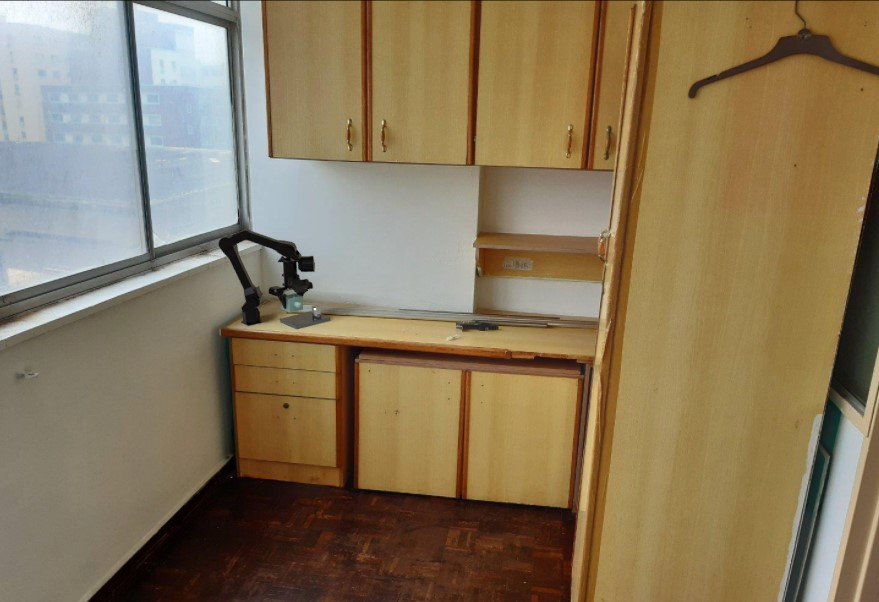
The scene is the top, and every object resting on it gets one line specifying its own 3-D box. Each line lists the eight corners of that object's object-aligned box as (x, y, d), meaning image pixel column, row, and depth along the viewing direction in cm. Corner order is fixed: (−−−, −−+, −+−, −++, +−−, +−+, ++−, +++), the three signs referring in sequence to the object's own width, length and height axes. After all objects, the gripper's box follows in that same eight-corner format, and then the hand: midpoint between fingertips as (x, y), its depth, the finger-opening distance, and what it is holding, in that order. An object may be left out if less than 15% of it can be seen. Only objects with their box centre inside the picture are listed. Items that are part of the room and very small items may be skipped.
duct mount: (296, 329, 270) (295, 314, 268) (279, 321, 278) (279, 307, 277) (329, 320, 281) (329, 306, 279) (313, 313, 290) (312, 300, 288)
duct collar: (294, 306, 282) (293, 293, 280) (307, 311, 275) (306, 297, 273) (281, 309, 277) (280, 295, 275) (293, 314, 270) (293, 300, 269)
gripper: (281, 279, 260) (283, 315, 265) (319, 271, 273) (321, 307, 278) (266, 274, 268) (269, 309, 273) (304, 267, 281) (306, 301, 285)
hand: (292, 307), depth 277 cm, fingers closed on duct collar, 7 cm apart
